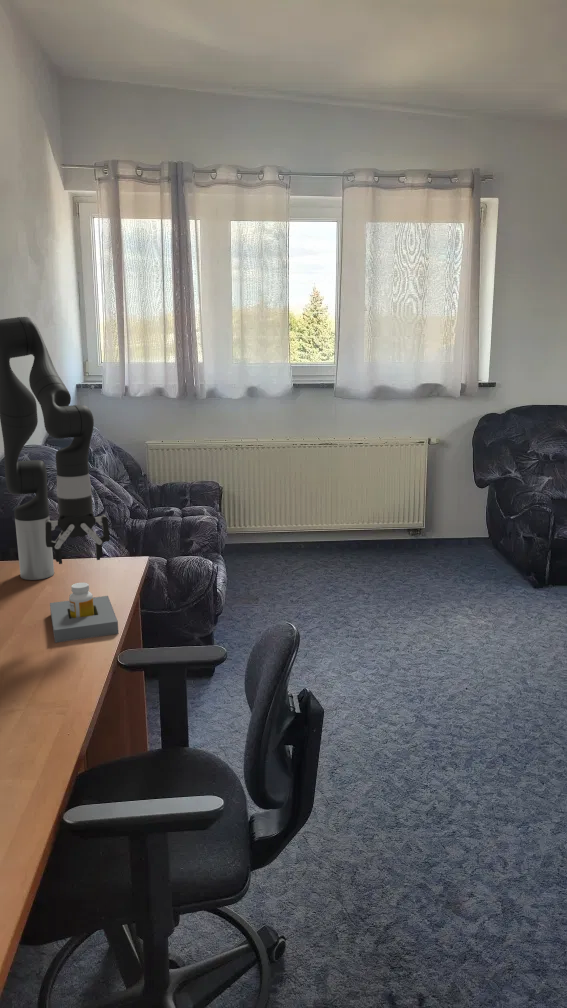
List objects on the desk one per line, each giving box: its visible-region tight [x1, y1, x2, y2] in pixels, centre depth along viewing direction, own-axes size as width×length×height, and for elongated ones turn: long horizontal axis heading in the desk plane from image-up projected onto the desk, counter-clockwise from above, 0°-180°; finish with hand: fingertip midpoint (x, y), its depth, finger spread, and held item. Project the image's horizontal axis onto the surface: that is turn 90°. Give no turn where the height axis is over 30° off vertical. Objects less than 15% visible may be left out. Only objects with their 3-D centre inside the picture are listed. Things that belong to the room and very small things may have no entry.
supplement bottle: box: [68, 582, 94, 618], centre depth 171 cm, size 5×5×10 cm
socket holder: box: [49, 595, 119, 644], centre depth 171 cm, size 18×14×3 cm
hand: (79, 561), depth 168 cm, fingers open, 8 cm apart
